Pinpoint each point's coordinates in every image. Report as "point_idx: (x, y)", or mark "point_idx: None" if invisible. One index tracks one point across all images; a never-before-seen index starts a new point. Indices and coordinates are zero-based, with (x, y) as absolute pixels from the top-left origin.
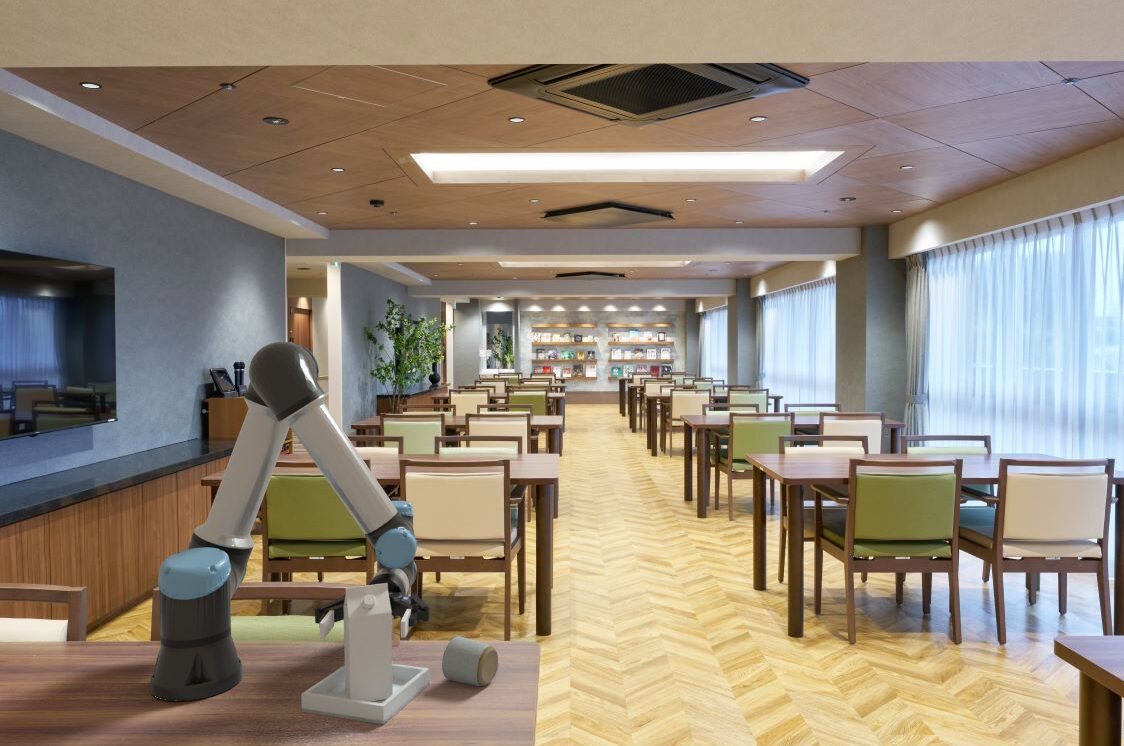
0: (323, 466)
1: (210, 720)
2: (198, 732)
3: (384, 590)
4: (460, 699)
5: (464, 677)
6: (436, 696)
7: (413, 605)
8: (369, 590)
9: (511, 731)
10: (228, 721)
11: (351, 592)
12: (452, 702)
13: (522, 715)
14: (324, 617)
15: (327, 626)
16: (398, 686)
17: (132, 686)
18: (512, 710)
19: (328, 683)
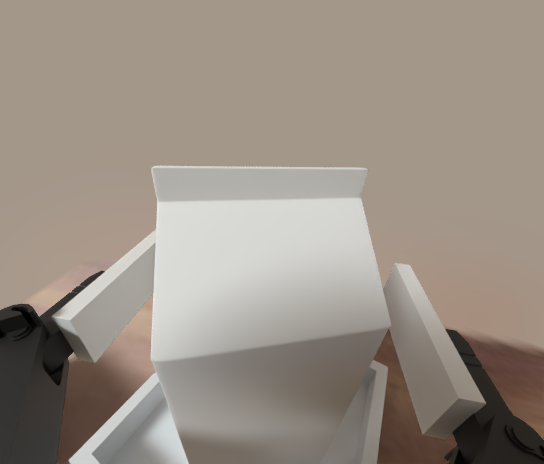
0: None
1: (531, 391)
2: (503, 351)
3: (178, 200)
4: (82, 363)
5: None
6: (114, 391)
7: (30, 307)
8: (255, 191)
9: (95, 265)
10: (490, 378)
11: (336, 189)
12: (104, 355)
13: (46, 291)
14: (431, 307)
15: (398, 311)
16: (176, 455)
17: None
18: (43, 306)
19: (360, 454)
